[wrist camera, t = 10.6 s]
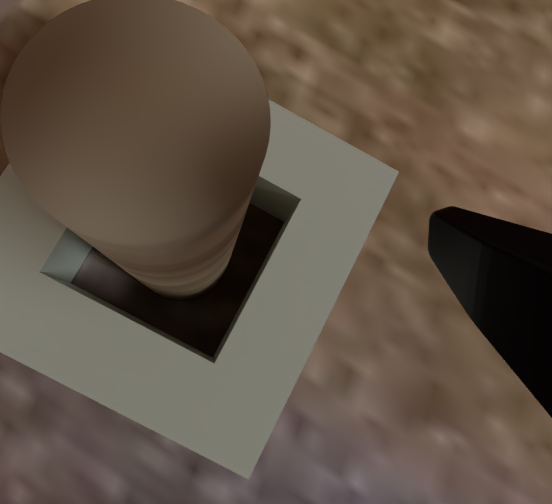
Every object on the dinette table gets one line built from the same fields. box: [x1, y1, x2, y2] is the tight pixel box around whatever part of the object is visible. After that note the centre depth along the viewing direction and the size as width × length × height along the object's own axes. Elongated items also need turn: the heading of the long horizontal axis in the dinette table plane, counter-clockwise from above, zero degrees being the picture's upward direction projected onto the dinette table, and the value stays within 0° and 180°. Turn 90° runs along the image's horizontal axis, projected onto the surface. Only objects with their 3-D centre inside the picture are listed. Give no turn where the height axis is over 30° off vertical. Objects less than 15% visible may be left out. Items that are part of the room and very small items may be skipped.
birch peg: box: [0, 0, 271, 300], centre depth 15 cm, size 4×4×14 cm
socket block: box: [0, 99, 399, 479], centre depth 19 cm, size 12×12×4 cm
